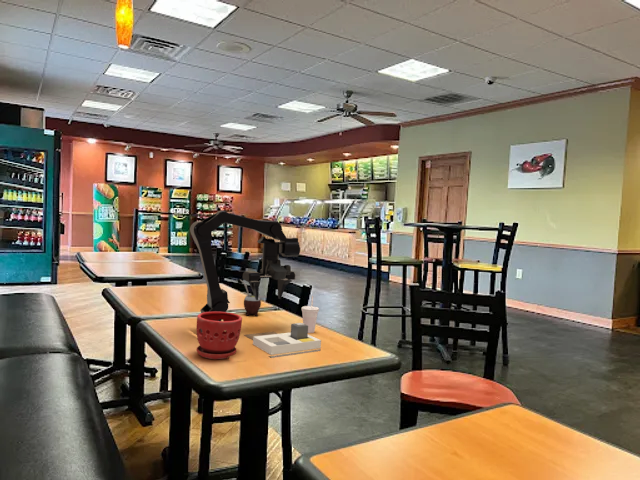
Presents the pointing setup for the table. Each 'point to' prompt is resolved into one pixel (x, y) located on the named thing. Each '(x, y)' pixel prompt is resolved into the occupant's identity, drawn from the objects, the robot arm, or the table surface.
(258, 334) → the deck
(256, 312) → the mate gourd
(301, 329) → the plug
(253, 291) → the robot arm
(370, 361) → the table surface
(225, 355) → the plant pot
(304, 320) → the smoothie
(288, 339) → the socket block
